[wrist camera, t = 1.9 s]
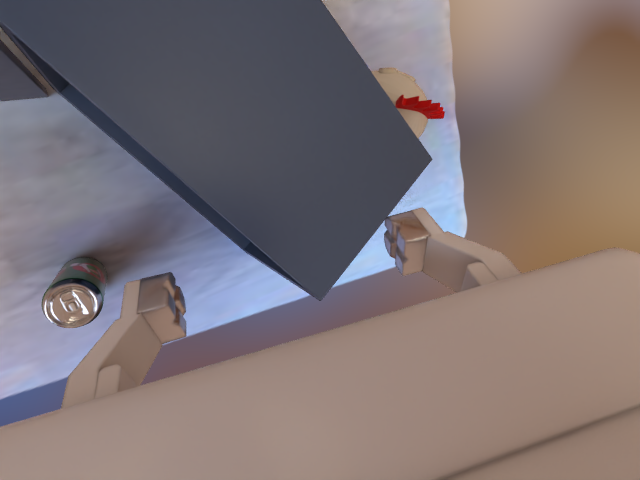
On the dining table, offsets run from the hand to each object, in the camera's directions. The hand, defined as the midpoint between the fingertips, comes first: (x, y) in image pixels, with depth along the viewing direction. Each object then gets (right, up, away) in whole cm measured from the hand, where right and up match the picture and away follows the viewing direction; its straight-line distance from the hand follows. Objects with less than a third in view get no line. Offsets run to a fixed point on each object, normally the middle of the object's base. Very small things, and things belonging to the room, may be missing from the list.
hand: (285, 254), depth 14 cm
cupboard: (-13, +15, +36) cm, 41 cm away
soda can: (-28, -4, +32) cm, 43 cm away
